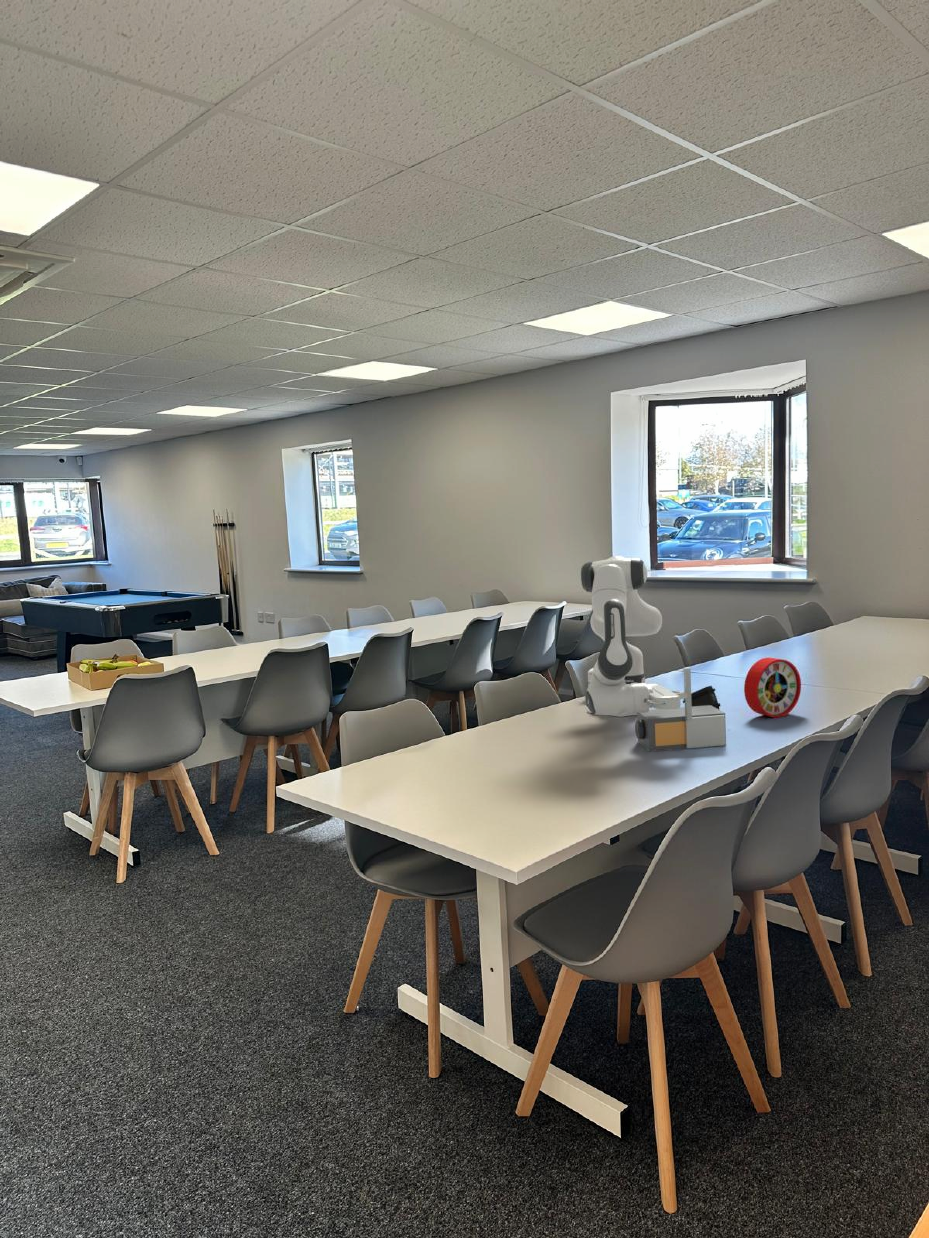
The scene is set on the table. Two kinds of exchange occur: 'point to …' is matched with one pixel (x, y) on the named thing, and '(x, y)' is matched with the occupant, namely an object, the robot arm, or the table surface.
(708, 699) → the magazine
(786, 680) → the toy clock
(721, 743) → the door
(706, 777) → the table surface
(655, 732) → the camera housing
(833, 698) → the table surface
